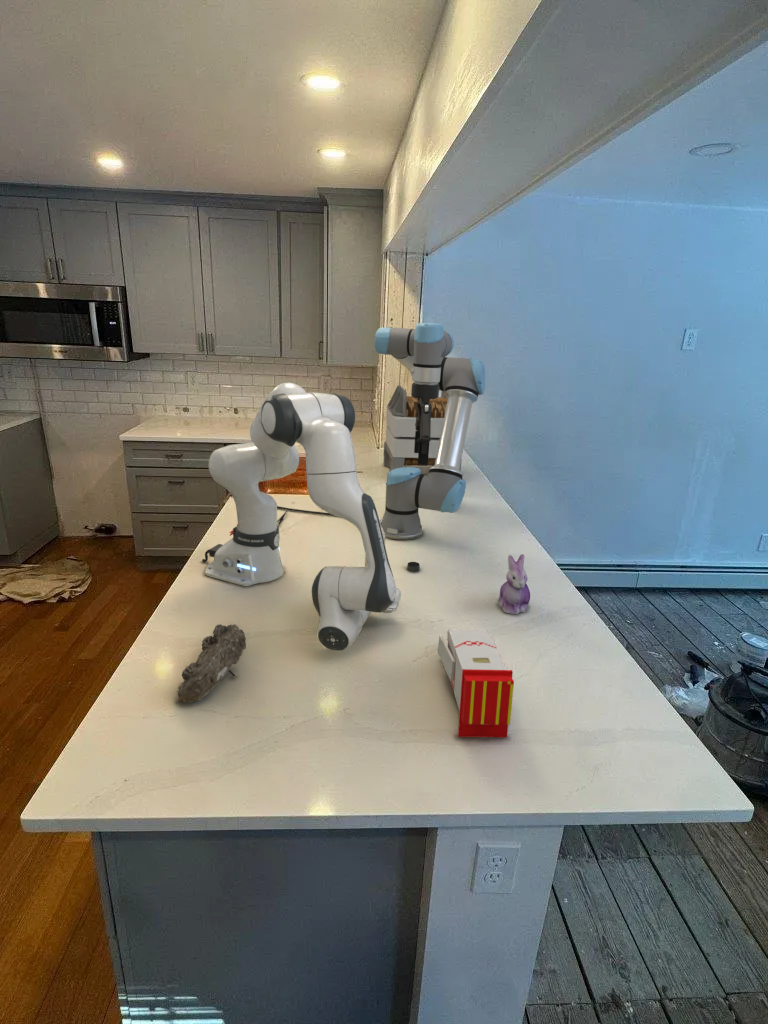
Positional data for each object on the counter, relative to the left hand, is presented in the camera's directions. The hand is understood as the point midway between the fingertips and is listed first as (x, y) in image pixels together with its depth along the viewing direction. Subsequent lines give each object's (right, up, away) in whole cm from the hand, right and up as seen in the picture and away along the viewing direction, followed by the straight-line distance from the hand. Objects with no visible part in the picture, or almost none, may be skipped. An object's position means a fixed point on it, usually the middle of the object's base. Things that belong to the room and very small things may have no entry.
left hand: (368, 581), depth 150 cm
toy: (+22, -19, -32) cm, 43 cm away
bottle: (+1, -4, +9) cm, 10 cm away
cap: (+13, +2, +22) cm, 26 cm away
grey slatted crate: (+21, +37, +125) cm, 132 cm away
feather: (-33, +17, +63) cm, 73 cm away
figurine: (+39, -7, +3) cm, 40 cm away
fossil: (-31, -16, -30) cm, 46 cm away
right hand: (+15, +34, +11) cm, 38 cm away
